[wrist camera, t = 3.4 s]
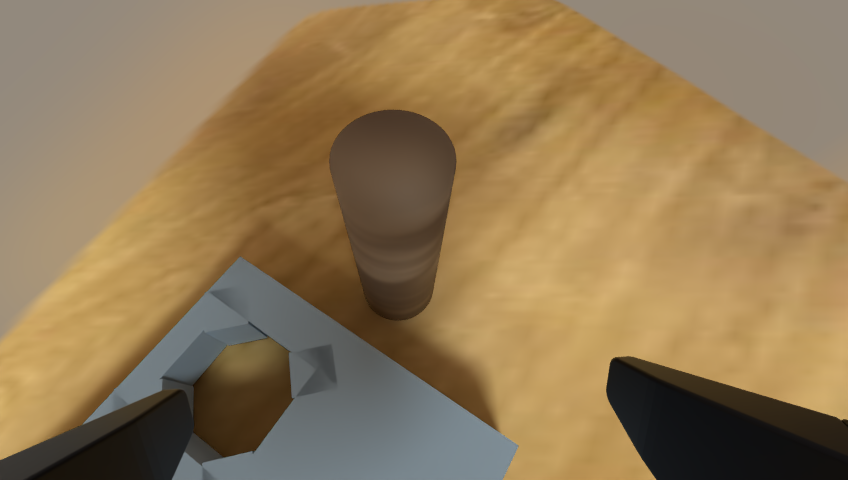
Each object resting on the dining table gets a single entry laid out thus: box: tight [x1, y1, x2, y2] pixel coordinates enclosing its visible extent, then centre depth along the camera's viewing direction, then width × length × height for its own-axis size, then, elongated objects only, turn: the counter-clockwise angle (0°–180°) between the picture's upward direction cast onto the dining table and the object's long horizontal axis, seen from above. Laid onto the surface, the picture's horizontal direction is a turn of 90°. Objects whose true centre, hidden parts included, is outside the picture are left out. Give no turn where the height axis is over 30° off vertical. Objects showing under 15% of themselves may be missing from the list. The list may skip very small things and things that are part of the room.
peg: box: [329, 110, 456, 320], centre depth 18 cm, size 4×4×12 cm
